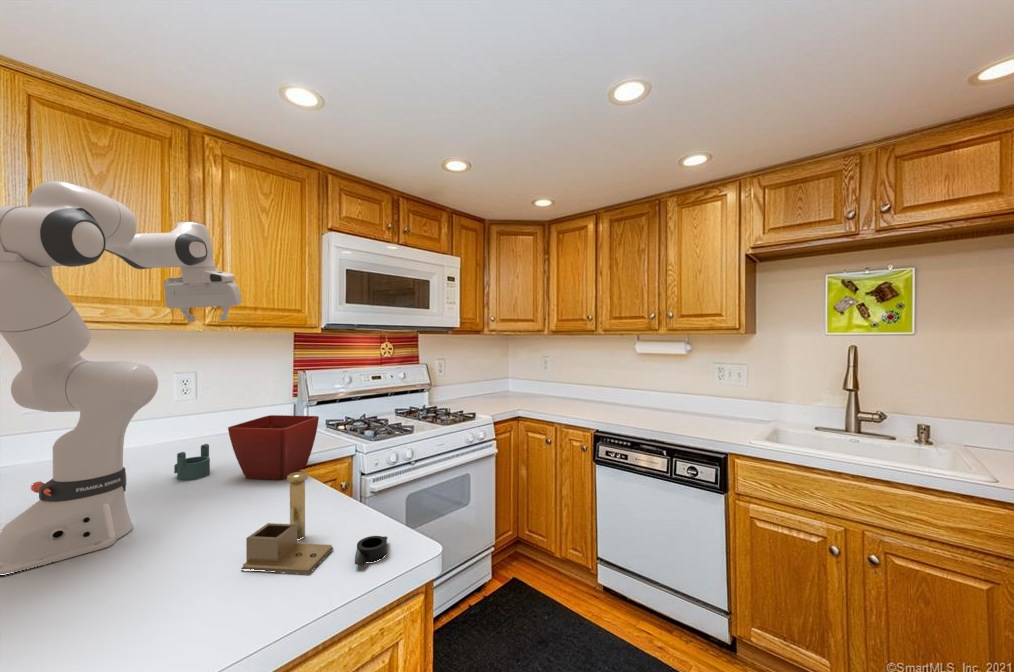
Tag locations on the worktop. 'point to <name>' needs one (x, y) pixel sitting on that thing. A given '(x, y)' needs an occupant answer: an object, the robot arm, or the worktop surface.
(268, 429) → the plant pot
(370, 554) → the black ring with tabs
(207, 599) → the worktop surface
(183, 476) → the bracket
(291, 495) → the hinge pin
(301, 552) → the brass socket plate
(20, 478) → the worktop surface
